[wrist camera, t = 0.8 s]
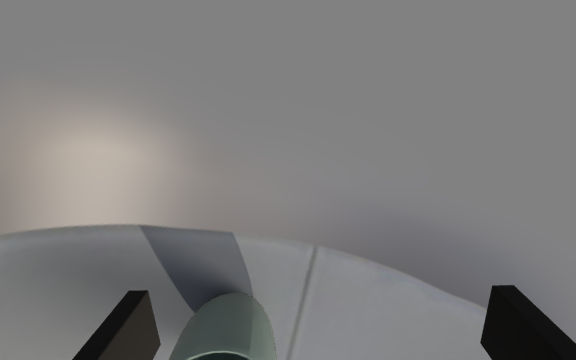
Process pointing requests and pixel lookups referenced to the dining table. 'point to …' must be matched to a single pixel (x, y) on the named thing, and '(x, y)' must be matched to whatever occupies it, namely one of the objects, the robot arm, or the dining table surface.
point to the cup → (227, 331)
